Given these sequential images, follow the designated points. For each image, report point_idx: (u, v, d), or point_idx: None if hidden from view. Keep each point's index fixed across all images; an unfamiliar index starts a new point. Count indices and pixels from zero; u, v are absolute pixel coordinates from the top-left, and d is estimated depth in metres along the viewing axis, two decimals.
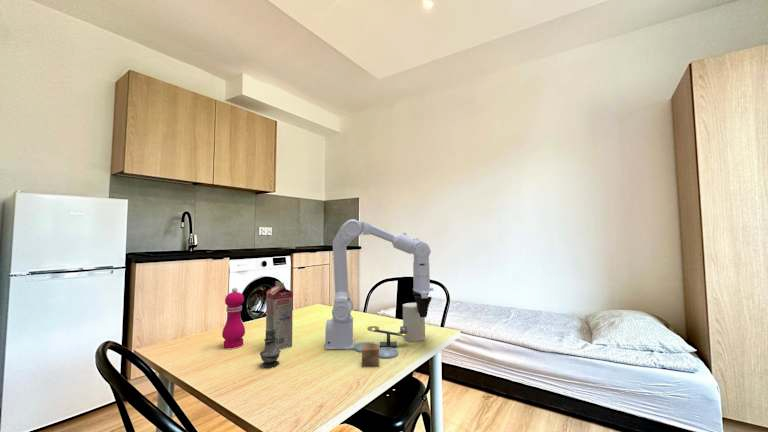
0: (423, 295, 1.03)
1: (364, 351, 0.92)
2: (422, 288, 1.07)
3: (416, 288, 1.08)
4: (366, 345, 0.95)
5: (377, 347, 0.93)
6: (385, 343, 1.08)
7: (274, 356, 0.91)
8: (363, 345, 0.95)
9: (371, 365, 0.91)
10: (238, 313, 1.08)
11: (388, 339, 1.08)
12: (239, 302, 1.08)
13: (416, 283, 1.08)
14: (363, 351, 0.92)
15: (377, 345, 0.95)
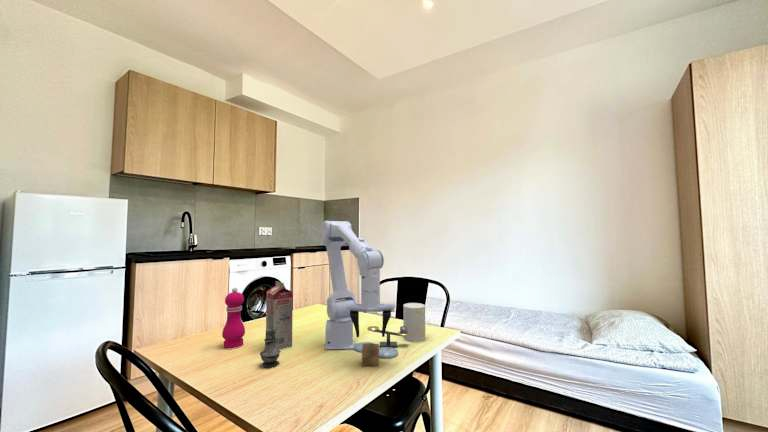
0: None
1: (364, 351, 0.92)
2: (361, 303, 0.95)
3: None
4: (366, 345, 0.95)
5: (377, 347, 0.93)
6: (385, 343, 1.08)
7: (274, 356, 0.91)
8: (363, 345, 0.95)
9: (371, 365, 0.91)
10: (238, 313, 1.08)
11: (388, 339, 1.08)
12: (239, 302, 1.08)
13: None
14: (363, 351, 0.92)
15: (377, 345, 0.95)
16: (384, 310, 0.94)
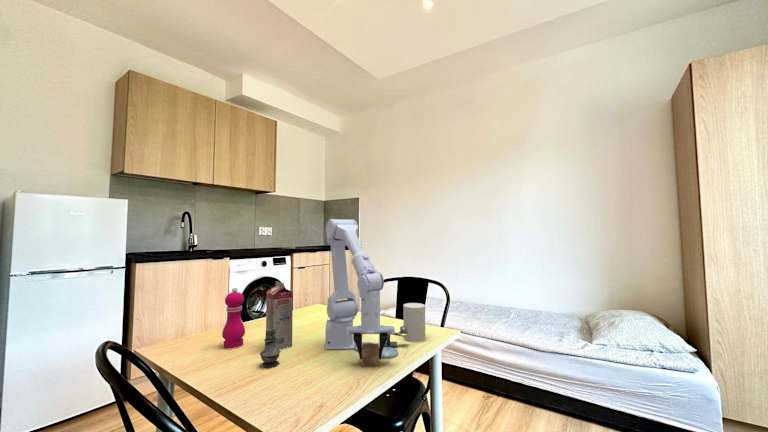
0: None
1: (364, 351, 0.92)
2: (361, 325, 0.94)
3: None
4: (367, 345, 0.95)
5: (377, 347, 0.93)
6: (385, 343, 1.08)
7: (274, 356, 0.91)
8: (363, 345, 0.95)
9: (371, 365, 0.91)
10: (238, 313, 1.08)
11: (388, 339, 1.08)
12: (239, 302, 1.08)
13: None
14: (363, 351, 0.92)
15: (377, 345, 0.95)
16: (384, 332, 0.94)
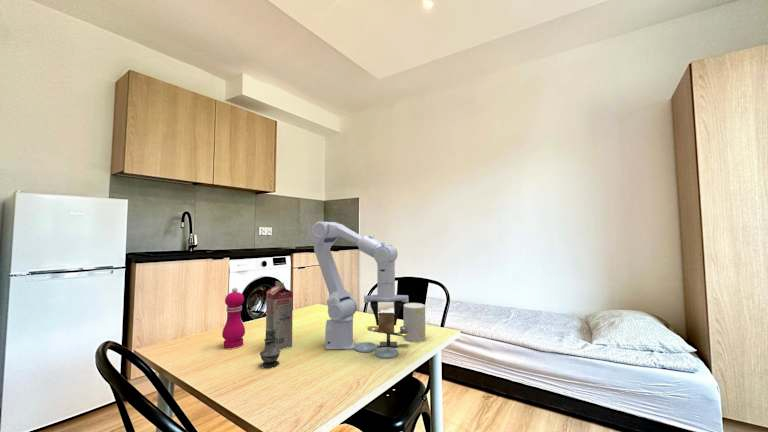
0: None
1: (380, 318, 0.99)
2: (377, 294, 1.02)
3: None
4: (382, 314, 1.02)
5: (392, 315, 1.00)
6: (385, 343, 1.08)
7: (274, 356, 0.91)
8: (379, 313, 1.02)
9: (387, 331, 0.99)
10: (238, 313, 1.08)
11: (388, 339, 1.08)
12: (239, 302, 1.08)
13: None
14: (380, 318, 0.99)
15: (392, 313, 1.02)
16: (399, 301, 1.01)
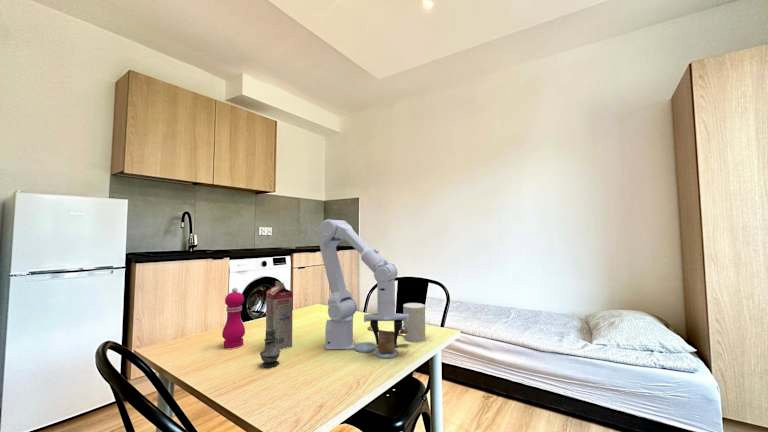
0: None
1: (380, 337, 0.99)
2: (377, 313, 1.02)
3: None
4: (382, 332, 1.02)
5: (392, 334, 1.00)
6: None
7: (274, 356, 0.91)
8: (379, 332, 1.02)
9: (387, 350, 0.98)
10: (238, 313, 1.08)
11: None
12: (239, 302, 1.08)
13: None
14: (380, 337, 0.99)
15: (392, 332, 1.02)
16: (399, 319, 1.01)
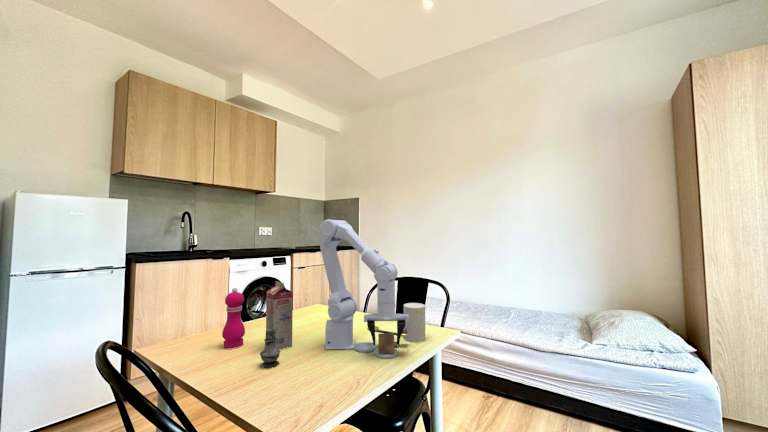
0: None
1: (381, 340, 0.99)
2: (377, 313, 1.02)
3: None
4: (382, 335, 1.02)
5: (392, 336, 1.00)
6: None
7: (274, 356, 0.91)
8: (379, 335, 1.02)
9: (387, 353, 0.98)
10: (238, 313, 1.08)
11: None
12: (239, 302, 1.08)
13: None
14: (380, 340, 0.98)
15: (392, 334, 1.02)
16: (399, 320, 1.01)
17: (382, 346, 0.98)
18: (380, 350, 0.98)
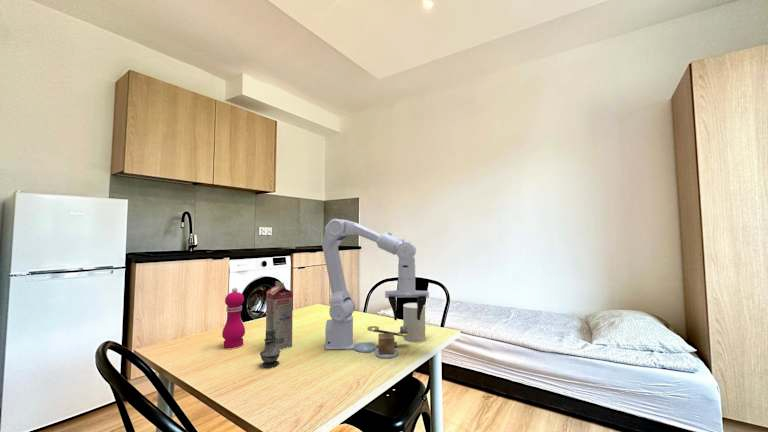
0: None
1: (381, 340, 0.99)
2: (398, 290, 1.04)
3: None
4: (382, 335, 1.02)
5: (392, 336, 1.00)
6: None
7: (274, 356, 0.91)
8: (379, 335, 1.02)
9: (387, 353, 0.98)
10: (238, 313, 1.08)
11: None
12: (239, 302, 1.08)
13: None
14: (380, 340, 0.98)
15: (392, 334, 1.02)
16: (419, 296, 1.04)
17: (382, 346, 0.98)
18: (380, 350, 0.98)
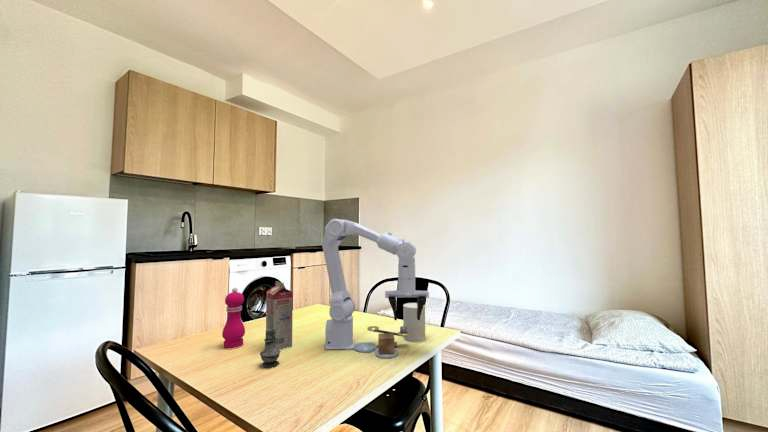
0: None
1: (381, 340, 0.99)
2: (398, 290, 1.04)
3: None
4: (382, 335, 1.02)
5: (392, 336, 1.00)
6: None
7: (274, 356, 0.91)
8: (379, 335, 1.02)
9: (387, 353, 0.98)
10: (238, 313, 1.08)
11: None
12: (239, 302, 1.08)
13: None
14: (380, 340, 0.98)
15: (392, 334, 1.02)
16: (419, 296, 1.04)
17: (382, 346, 0.98)
18: (380, 350, 0.98)
